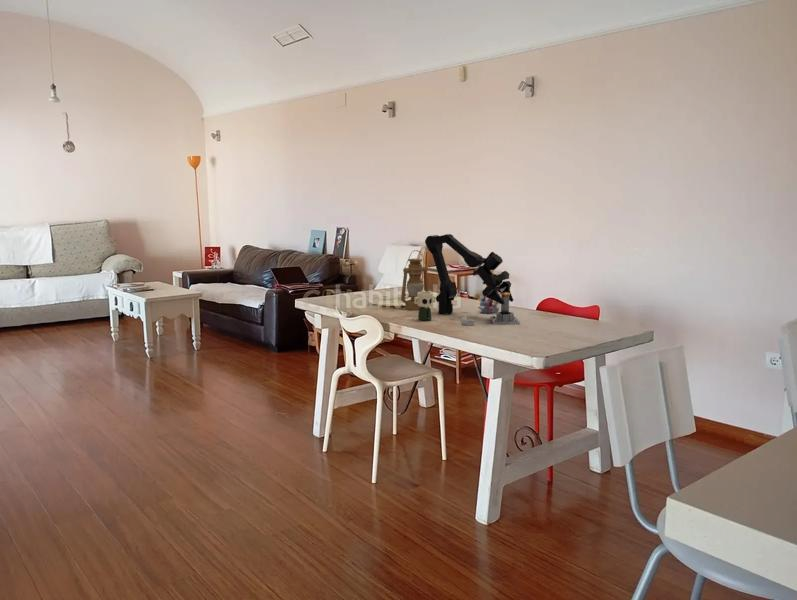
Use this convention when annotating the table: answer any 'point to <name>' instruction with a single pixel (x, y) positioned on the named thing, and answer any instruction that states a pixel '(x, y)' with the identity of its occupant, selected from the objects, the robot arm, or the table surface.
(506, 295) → the copper-capped metal post
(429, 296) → the big-eyed figurine
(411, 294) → the lantern
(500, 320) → the silver bolted socket base
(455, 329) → the table surface
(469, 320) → the loose bracket
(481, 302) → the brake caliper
